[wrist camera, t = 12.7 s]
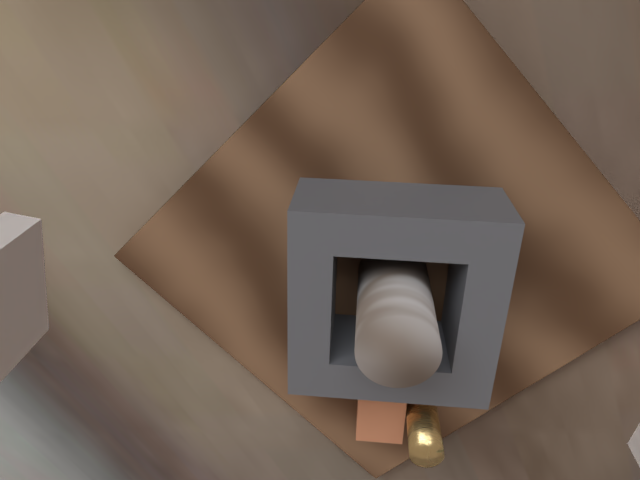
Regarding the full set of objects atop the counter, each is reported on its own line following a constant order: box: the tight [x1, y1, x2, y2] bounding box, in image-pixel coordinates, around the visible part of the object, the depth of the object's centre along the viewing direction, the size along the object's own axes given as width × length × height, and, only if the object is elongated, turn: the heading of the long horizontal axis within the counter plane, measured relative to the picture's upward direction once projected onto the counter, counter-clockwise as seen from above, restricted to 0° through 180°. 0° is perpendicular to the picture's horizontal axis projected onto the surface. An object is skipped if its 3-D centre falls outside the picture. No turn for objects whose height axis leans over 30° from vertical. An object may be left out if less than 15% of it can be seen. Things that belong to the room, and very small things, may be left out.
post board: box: [115, 0, 640, 478], centre depth 29 cm, size 24×24×9 cm
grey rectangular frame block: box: [287, 177, 525, 444], centre depth 31 cm, size 17×11×5 cm, turn 179°
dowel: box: [406, 403, 444, 468], centre depth 34 cm, size 2×2×5 cm
